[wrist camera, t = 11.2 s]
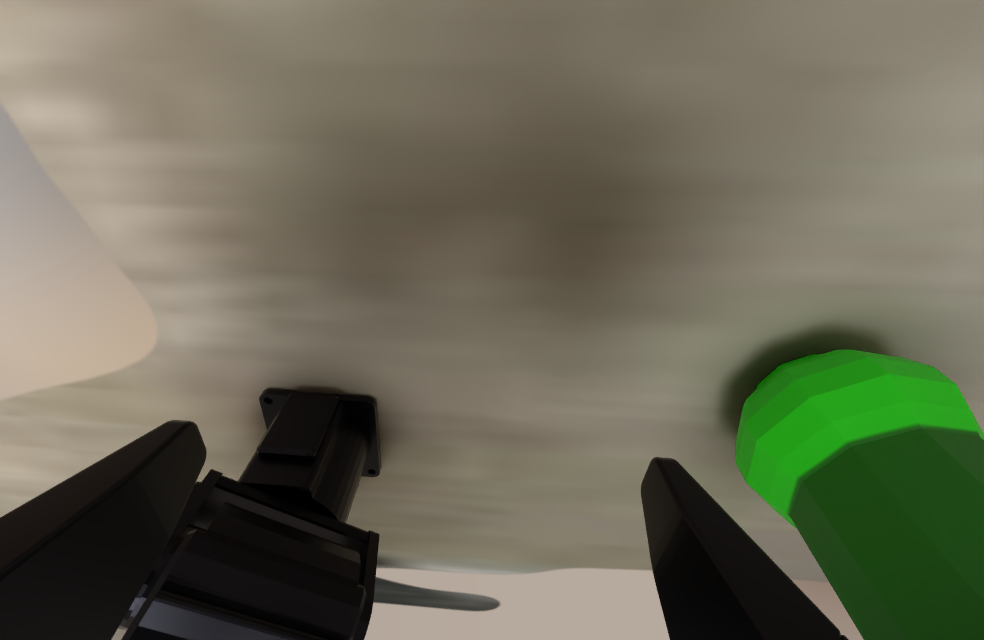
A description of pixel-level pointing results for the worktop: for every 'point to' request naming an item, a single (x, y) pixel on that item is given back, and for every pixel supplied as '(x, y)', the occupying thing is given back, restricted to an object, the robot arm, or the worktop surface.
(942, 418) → the plastic bottle
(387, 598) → the worktop surface
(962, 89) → the worktop surface
